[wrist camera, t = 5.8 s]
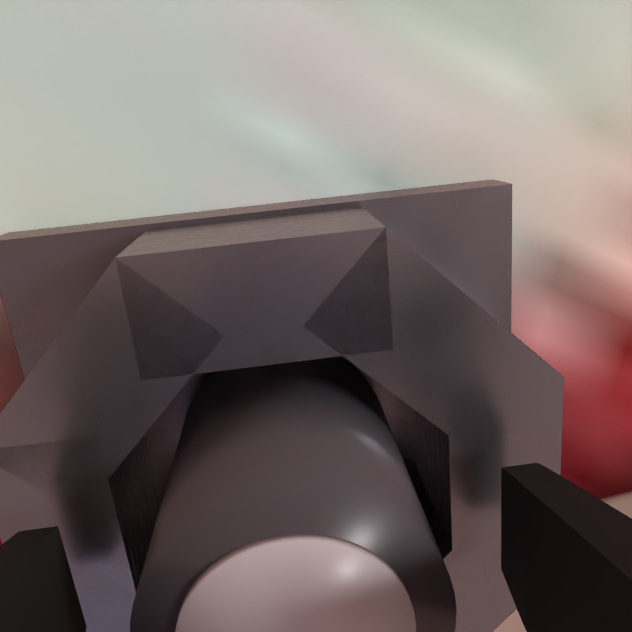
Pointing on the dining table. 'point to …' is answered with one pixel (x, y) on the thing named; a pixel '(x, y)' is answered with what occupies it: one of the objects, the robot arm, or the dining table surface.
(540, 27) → the dining table surface
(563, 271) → the dining table surface
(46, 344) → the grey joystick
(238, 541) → the cap
